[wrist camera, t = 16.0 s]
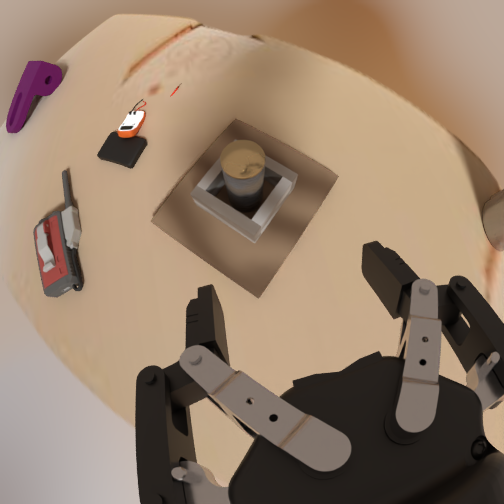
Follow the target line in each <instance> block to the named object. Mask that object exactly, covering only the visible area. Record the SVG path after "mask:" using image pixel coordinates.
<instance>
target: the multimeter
mask: <svg viewBox="0 0 504 504" xmlns="http://www.w3.org/2000/svg"><path fill="white" fill-rule="evenodd" d="M179 86H180V85H179ZM179 86H178V87H177V88H176V90H177V89H178V88H179ZM176 90H175V91H174V92H173V93H172V95H173V94H174V93H175V92H176ZM172 95H171V96H172ZM171 96H170V97H171ZM142 100H143V99H142ZM142 100H141V101H142ZM141 101H140V102H141ZM143 102H144V101H143ZM138 103H139V102H138ZM138 103H137V104H138ZM137 104H136V105H137ZM136 105H135V106H136ZM145 105H146V102H145ZM145 105H143V106H145ZM135 106H134V108H135ZM143 106H141V107H143ZM141 107H139V108H141ZM134 108H133V110H134ZM139 108H138V109H139ZM138 109H137V110H138ZM133 110H132V111H130V112H129V113H128V115H127V117H126V119H125V121H124V122H123V123H122V125H121V126H120V127H119V129H118V130H117V132H118V133H116V132H112V133H110V135H109V136H108V138H107V139H106V141H105V143H104V144H103V146H102V147H101V149H100V151H99V152H98V154H97V156H98V157H99V158H100V159H101V160H106V161H110V162H113V163H117V164H120V165H123V166H125V167H128V168H133V167H134V166H135V164H136V162H137V160H138V159H139V157H140V155H141V154H142V152H143V150H144V149H145V147H146V146H147V142H146V140H145V139H143V138H138V137H133V136H135V135H136V134H137V132H138V131H139V129H140V127H141V126H142V124H143V122H144V120H145V112H144V111H137V110H136V111H133Z"/></svg>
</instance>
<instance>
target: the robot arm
mask: <svg viewBox="0 0 504 504" xmlns="http://www.w3.org/2000/svg"><path fill="white" fill-rule="evenodd" d="M483 224H484V228H485V232H486V234H487V237H488V239H489V241H490V243H491V244H492V245H493V247H495V248H496V249H497V250H499V251H504V189H503V190H501V191H499V192H498V193H496V194H494V195H493V196H491V199H490V200H489V201H487V202H486V203H485V205H484V208H483ZM362 273H363V276H364V278H365V279H366V280H367V282H368V283H369V285H370V286H371V287H372V289H373V290H374V292H375V293H376V294H377V296H378V297H379V299H380V300H381V302H382V303H383V304H384V306H385V307H386V309H387V310H388V312H389V313H390V315H391V316H392V318H393V319H396V318H398V317H402V319H403V321H402V325H401V332H400V338H399V344H398V350H397V354H396V357H394V356H383V357H382V355H381V354H380V352H379V351H378V352H376V353H373V354H371V355H368V356H365V357H363V358H360V359H358V360H357V361H356V362H354V363H353V364H351V365H350V366H348V367H346V368H345V369H343V370H342V371H339V372H332V373H322V374H314V375H310V376H307V377H304V378H300V379H297V380H293V386H294V387H292V388H290V389H289V390H287V391H286V392H284V393H283V394H282V395H281V396H280V397H278V396H277V395H275V394H274V393H272V392H271V391H269V390H268V389H266V388H265V387H263V386H262V385H261V384H259V383H258V382H256V381H255V380H253V379H252V378H251V377H249V376H248V375H247V374H245V373H244V372H242V371H235V370H234V369H232V368H231V367H230V363H229V355H228V347H227V339H226V331H225V322H224V315H223V310H222V307H221V304H220V302H219V299H218V296H217V294H216V291H215V289H214V286H213V285H212V284H211V285H207V286H203V287H199V288H198V298H196V299H192V300H190V302H189V304H188V306H187V308H186V317H187V318H186V349H185V351H184V352H183V353H182V354H181V356H180V360H179V361H178V362H176V363H174V364H173V365H170V366H168V367H166V368H164V369H161V368H160V367H158V366H148V367H146V368H144V369H143V370H141V372H140V373H139V374H138V376H137V380H136V414H135V427H136V460H137V475H138V487H139V497H140V503H141V504H504V454H503V453H501V452H500V451H498V450H497V449H496V448H495V447H494V446H492V445H491V444H490V442H489V441H488V440H487V438H486V436H485V433H484V427H483V412H484V411H486V410H487V409H493V408H495V407H497V406H498V405H499V404H500V403H501V402H502V401H503V400H504V324H503V322H502V321H501V319H500V318H499V317H498V315H497V314H496V313H495V311H494V310H493V309H492V308H491V306H490V305H489V304H488V303H487V301H486V300H485V299H484V298H483V296H482V295H481V294H480V293H479V292H478V290H477V289H476V288H475V287H474V286H473V284H472V283H471V282H470V281H469V280H468V279H467V278H465V277H463V276H453V277H452V278H451V279H450V281H449V284H448V285H439V286H436V285H435V284H434V283H433V282H432V281H430V280H427V279H420V278H419V277H418V276H417V275H416V274H415V272H414V271H413V270H412V269H411V268H410V267H409V266H408V265H407V264H406V263H405V262H404V261H403V259H402V258H400V256H399V255H398V254H397V253H396V252H395V251H393V250H391V249H389V248H387V247H386V248H384V247H383V246H382V245H381V244H380V243H379V242H378V241H374V242H370V243H367V244H364V245H363V252H362ZM461 314H463V315H464V317H465V318H466V319H467V321H468V322H469V325H470V328H469V327H468V325H467V324H466V322H465V321H464V320H463V318H462V317H461ZM441 331H442V333H443V334H444V336H445V337H446V339H447V341H448V342H449V344H450V345H451V347H452V349H453V350H454V352H455V354H456V355H457V357H458V359H459V361H460V362H461V364H462V366H463V368H464V369H465V371H466V373H467V376H466V382H467V385H466V386H464V385H462V384H460V383H457V382H455V381H453V380H450V379H448V378H446V377H443V376H441V375H439V365H440V351H441ZM204 398H207V399H208V400H209V401H210V402H211V403H212V404H213V405H215V406H216V407H217V408H218V409H219V410H220V411H221V412H223V413H224V414H225V415H226V416H227V417H228V418H229V419H231V420H232V421H233V422H234V423H235V424H236V425H237V426H238V427H239V428H240V429H241V430H243V431H244V432H245V433H246V434H248V435H249V436H250V437H251V438H253V439H254V441H253V443H252V445H251V446H250V448H249V450H248V452H247V453H246V455H245V457H244V459H243V460H242V462H241V464H240V465H239V467H238V468H237V470H236V472H235V473H234V475H233V477H232V478H231V480H230V483H229V487H222V486H220V485H219V484H218V483H217V482H216V480H215V478H214V475H213V473H212V472H211V471H210V470H209V469H208V468H206V467H204V466H201V465H199V464H197V460H196V454H195V447H194V440H193V433H192V425H191V417H190V408H189V405H191V404H193V403H195V402H198V401H200V400H202V399H204Z"/></svg>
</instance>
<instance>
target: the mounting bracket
mask: <svg viewBox="0 0 504 504" xmlns="http://www.w3.org/2000/svg"><path fill="white" fill-rule="evenodd" d="M61 80H62V71H61V69H60V68H59V67H58V66H57V65H54V64H50V63H47V62H44V61H29V62H28V64H27V66H26V68H25V70H24V73H23V75H22V77H21V80H20V83H19V85H18V87H17V90H16V92H15V95H14V98H13V100H12V103H11V106H10V109H9V113H8V116H7V122H6V128H7V132H8V133H17V132H19V131H20V129H21V128H22V126H23V124H24V122H25V119H26V116H27V113H28V110H29V108H30V105H31V102H32V99H33V97H34V96H35V95H40V96H48V95H50V94H52V93H53V92H54V91H55V89H56V88H57V87H58V86H59V85H60V83H61Z"/></svg>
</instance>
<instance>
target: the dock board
mask: <svg viewBox="0 0 504 504" xmlns="http://www.w3.org/2000/svg"><path fill="white" fill-rule="evenodd" d="M237 140H249V141H253V142H255V143H257V144H258V145H259V146H260V147H261V148H262V149H263V151H264V153H265V171H264V184H263V197H262V202H261V204H260V206H259V207H258V208H257V209H255V210H254V211H251V212H240V211H237V210H235V209H234V208H233V207H232V206H231V204H230V202H229V198H228V193H227V189H226V185H225V180H224V176H223V171H222V167H221V163H220V156H221V153H222V151H223V149H224V148H225V147H226V146H227V145H228V144H230V143H232V142H234V141H237ZM338 177H339V176H338V175H336V174H335V173H333V172H332V171H330V170H328V169H327V168H325V167H323V166H322V165H320V164H319V163H317V162H315V161H314V160H312V159H310V158H309V157H307V156H305V155H304V154H302V153H300V152H298V151H297V150H295V149H293V148H291V147H290V146H288V145H286V144H284V143H282V142H280V141H279V140H277V139H275V138H273V137H271V136H269V135H267V134H266V133H264V132H262V131H260V130H258V129H256V128H254V127H252V126H250V125H248V124H246V123H244V122H242V121H240V120H238V119H235V120H234V121H233V122H232V123H231V124H230V125H229V126H228V127H227V129H226V130H225V131H224V132H223V133H222V134H221V135H220V136H219V137H218V138H217V139H216V141H215V142H214V143H213V144H212V145H211V146H210V147H209V149H208V150H207V151H206V152H205V153H204V154H203V155H202V157H201V158H200V159H199V160H198V161H197V162H196V164H195V165H194V166H193V167H192V168H191V170H190V171H189V172H188V173H187V175H186V176H185V177H184V178H183V179H182V181H181V182H180V183H179V184H178V186H177V187H176V188H175V189H174V191H173V192H172V193H171V195H170V196H169V197H168V198H167V200H166V201H165V202H164V204H163V205H162V206H161V208H160V209H159V210H158V212H157V213H156V214H155V216H154V217H153V218H152V220H151V222H152V223H153V224H155V225H156V226H157V227H159V228H160V229H161V230H163V231H164V232H166V233H167V234H168V235H170V236H171V237H172V238H174V239H175V240H176V241H178V242H179V243H181V244H182V245H183V246H185V247H186V248H187V249H189V250H190V251H192V252H193V253H194V254H196V255H197V256H199V257H200V258H201V259H203V260H204V261H206V262H207V263H208V264H210V265H211V266H213V267H214V268H215V269H217V270H218V271H220V272H221V273H223V274H224V275H225V276H227V277H228V278H230V279H231V280H233V281H234V282H235V283H237V284H238V285H240V286H241V287H243V288H244V289H246V290H247V291H249V292H250V293H251V294H253V295H254V296H256V297H257V298H259V297H260V296H261V295H262V293H263V292H264V290H265V289H266V287H267V286H268V284H269V283H270V281H271V280H272V278H273V277H274V276H275V274H276V273H277V271H278V270H279V268H280V267H281V265H282V264H283V262H284V261H285V259H286V258H287V256H288V255H289V253H290V252H291V250H292V249H293V247H294V246H295V244H296V243H297V241H298V239H299V238H300V236H301V235H302V233H303V232H304V230H305V229H306V227H307V226H308V224H309V223H310V221H311V220H312V218H313V216H314V215H315V213H316V212H317V210H318V209H319V207H320V205H321V204H322V202H323V201H324V199H325V198H326V196H327V194H328V193H329V191H330V190H331V188H332V187H333V185H334V183H335V182H336V180H337V178H338Z"/></svg>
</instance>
